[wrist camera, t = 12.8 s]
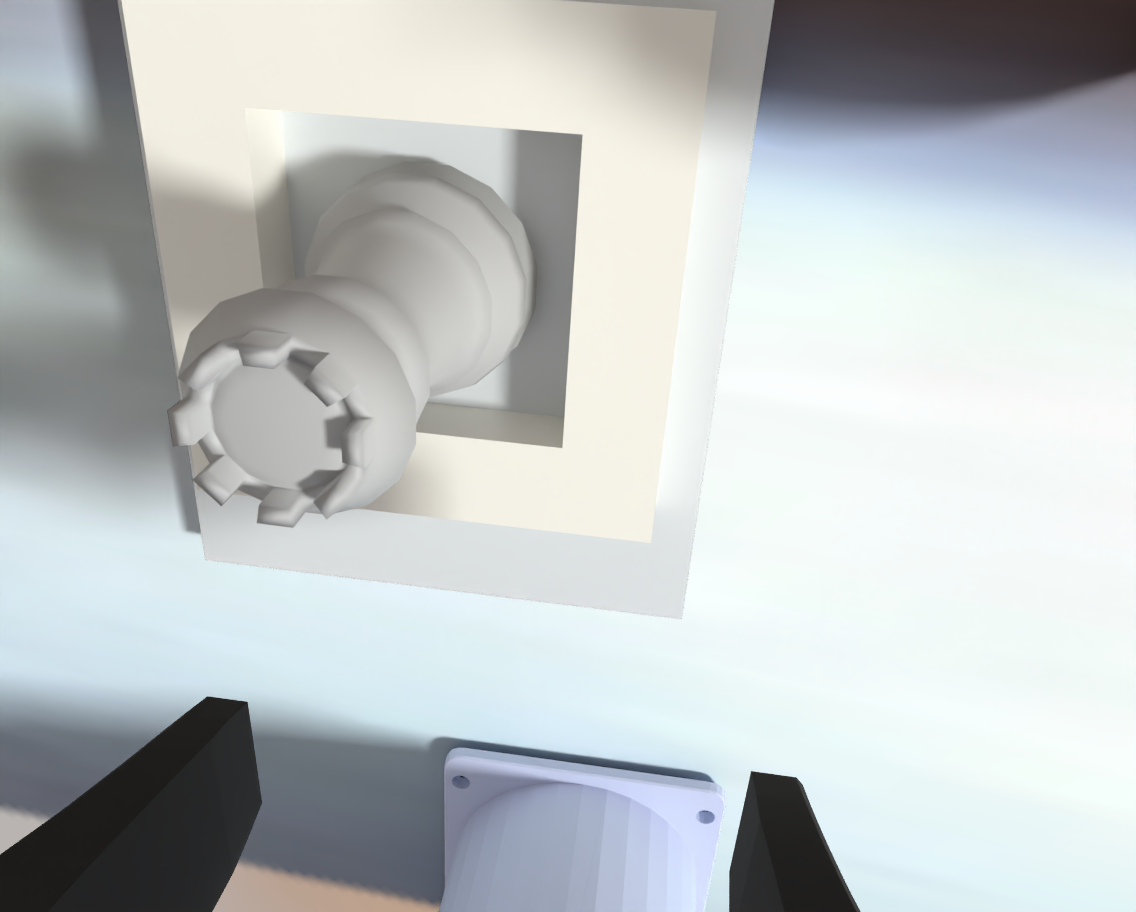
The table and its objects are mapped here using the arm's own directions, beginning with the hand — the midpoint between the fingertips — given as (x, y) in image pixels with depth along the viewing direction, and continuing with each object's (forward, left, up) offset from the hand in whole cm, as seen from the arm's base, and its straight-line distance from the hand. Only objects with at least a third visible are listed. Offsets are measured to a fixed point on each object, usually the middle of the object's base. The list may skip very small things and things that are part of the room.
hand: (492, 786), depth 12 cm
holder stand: (+5, +3, -9) cm, 11 cm away
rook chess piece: (+5, +3, -9) cm, 10 cm away
